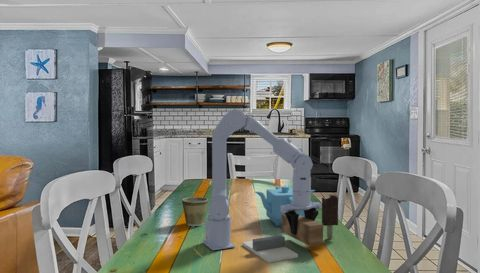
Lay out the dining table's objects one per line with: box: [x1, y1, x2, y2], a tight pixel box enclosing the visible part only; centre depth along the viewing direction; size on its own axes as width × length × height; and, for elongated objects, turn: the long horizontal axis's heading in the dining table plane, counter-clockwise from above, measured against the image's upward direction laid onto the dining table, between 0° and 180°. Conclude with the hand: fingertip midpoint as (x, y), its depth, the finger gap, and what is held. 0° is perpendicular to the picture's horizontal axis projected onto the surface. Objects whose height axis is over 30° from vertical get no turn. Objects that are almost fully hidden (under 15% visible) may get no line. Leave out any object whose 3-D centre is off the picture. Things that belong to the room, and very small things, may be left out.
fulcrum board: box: [241, 234, 299, 263], centre depth 115 cm, size 17×10×4 cm, turn 25°
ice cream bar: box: [321, 194, 339, 240], centre depth 127 cm, size 5×2×15 cm, turn 95°
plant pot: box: [181, 196, 209, 227], centre depth 147 cm, size 13×10×10 cm
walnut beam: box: [281, 214, 324, 247], centre depth 120 cm, size 16×5×6 cm, turn 25°
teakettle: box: [254, 185, 316, 227], centre depth 148 cm, size 19×19×15 cm
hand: (301, 232), depth 120 cm, fingers closed on walnut beam, 5 cm apart
